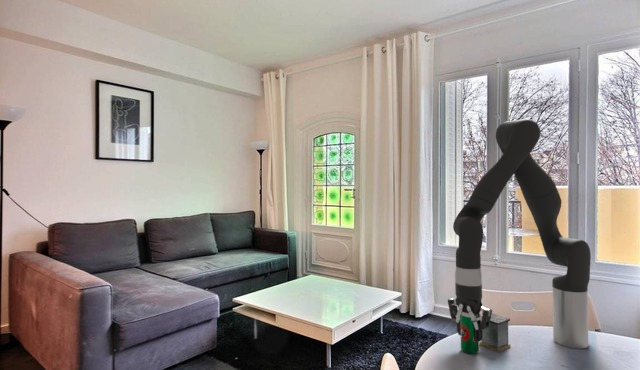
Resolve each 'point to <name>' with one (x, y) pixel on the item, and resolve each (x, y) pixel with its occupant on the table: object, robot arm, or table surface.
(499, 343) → the service unit
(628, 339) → the table surface
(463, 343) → the soda can
